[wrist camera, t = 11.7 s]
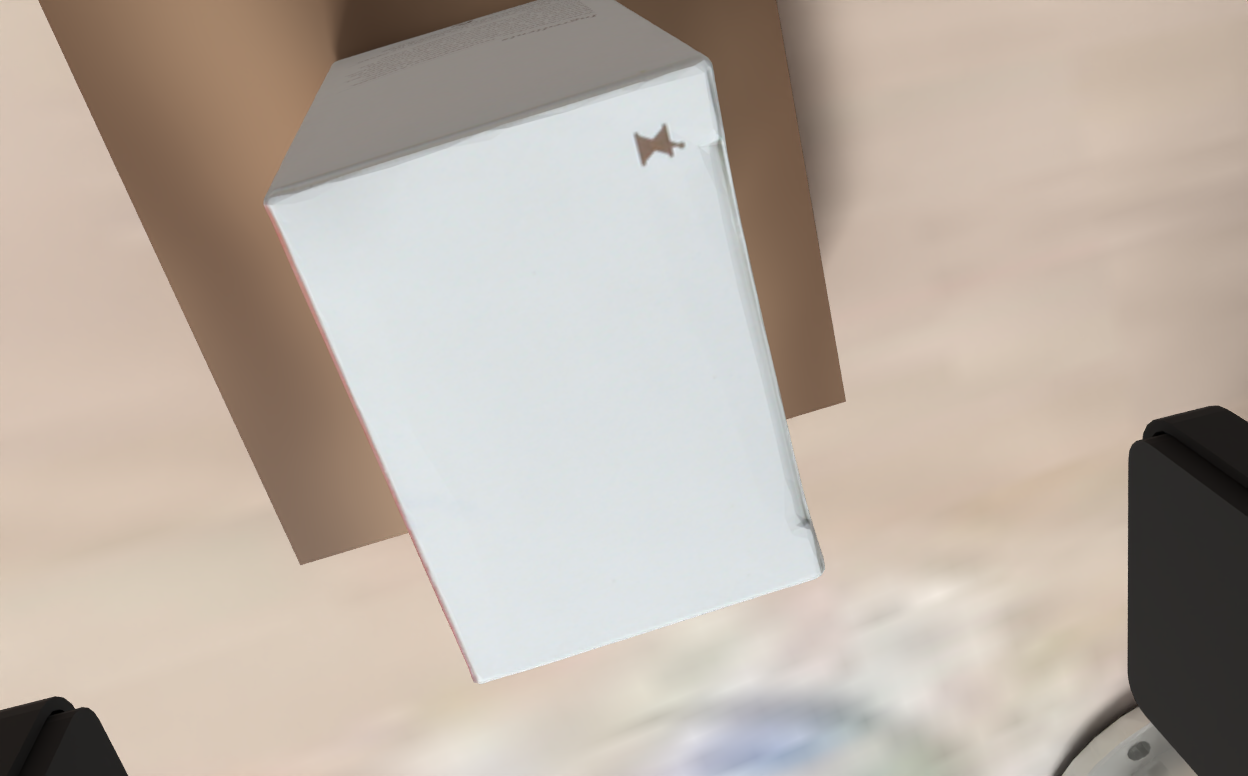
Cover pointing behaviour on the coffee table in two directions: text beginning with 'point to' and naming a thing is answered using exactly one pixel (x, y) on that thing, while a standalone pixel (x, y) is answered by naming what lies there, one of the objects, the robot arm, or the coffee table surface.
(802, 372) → the walnut block
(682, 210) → the small box
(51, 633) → the coffee table surface
